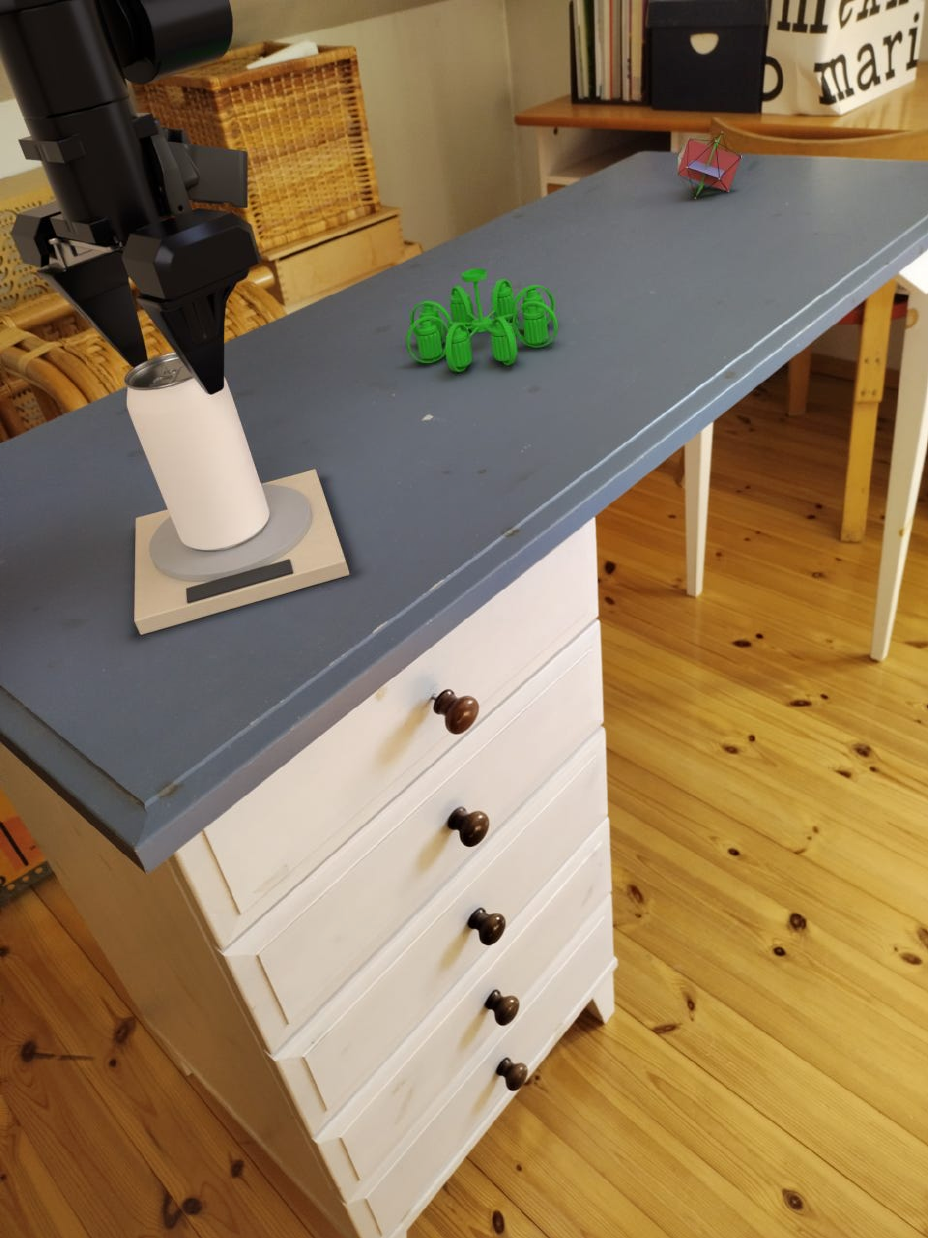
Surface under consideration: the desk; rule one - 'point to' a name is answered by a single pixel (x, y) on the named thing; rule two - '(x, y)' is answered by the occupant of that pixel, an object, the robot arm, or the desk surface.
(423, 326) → the chandelier
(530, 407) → the desk surface
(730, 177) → the geometric puzzle
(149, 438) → the can
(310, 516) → the scale
